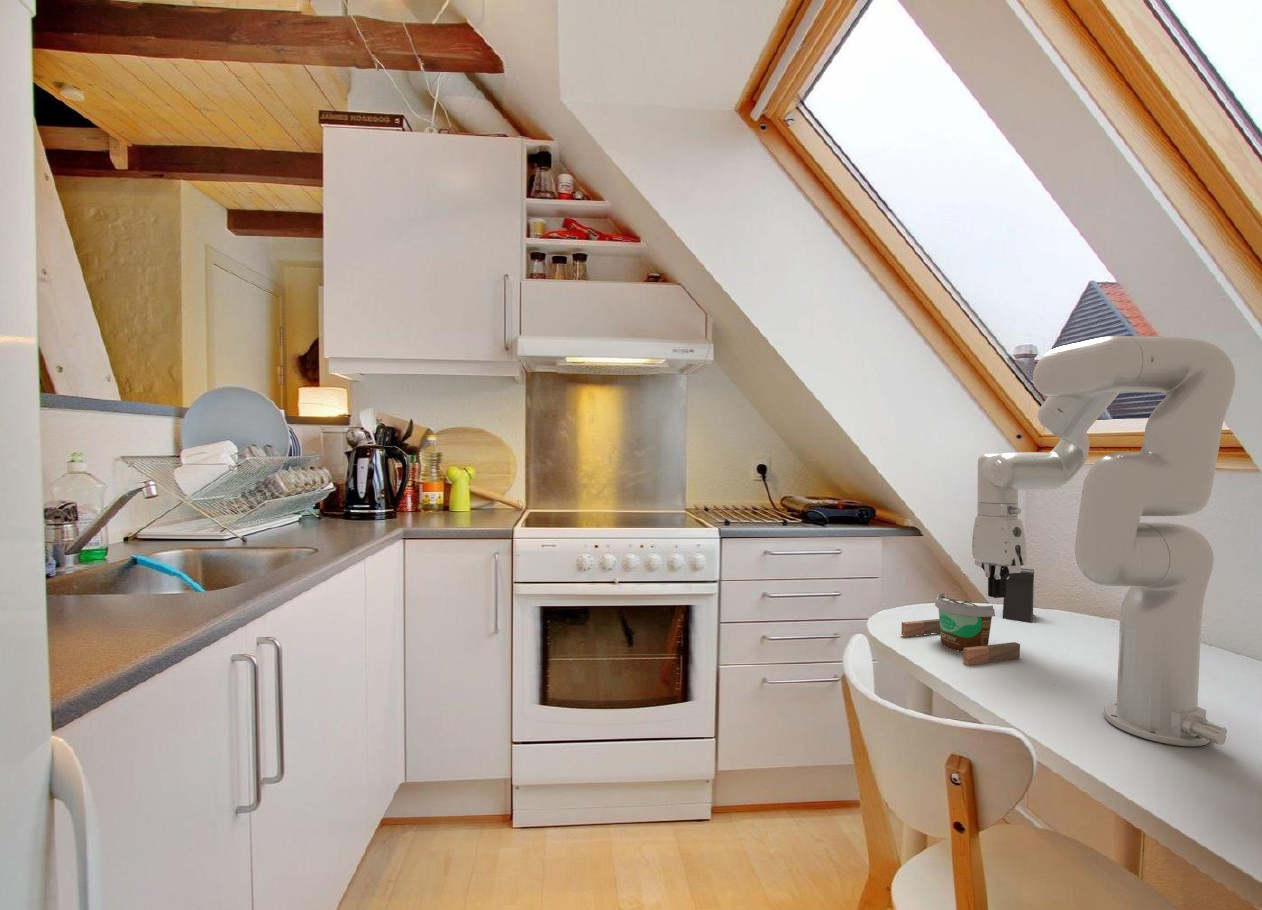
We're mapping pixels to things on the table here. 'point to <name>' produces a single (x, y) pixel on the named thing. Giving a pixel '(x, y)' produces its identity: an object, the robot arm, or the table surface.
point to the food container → (963, 623)
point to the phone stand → (1019, 596)
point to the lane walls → (971, 653)
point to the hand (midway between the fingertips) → (996, 596)
